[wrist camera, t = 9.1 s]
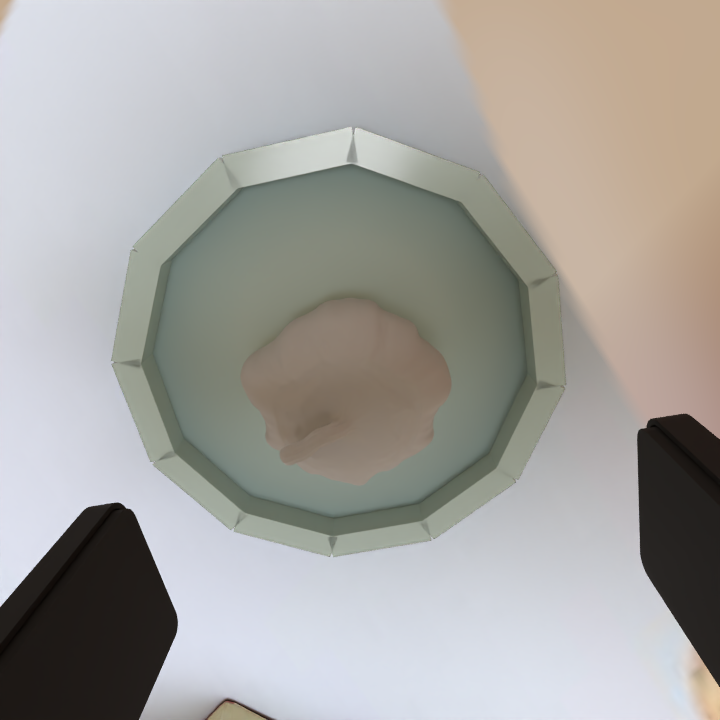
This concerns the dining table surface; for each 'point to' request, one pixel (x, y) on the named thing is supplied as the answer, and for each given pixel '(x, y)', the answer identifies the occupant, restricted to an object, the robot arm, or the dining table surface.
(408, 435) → the garlic
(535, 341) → the plate
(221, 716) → the gift box
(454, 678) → the dining table surface
